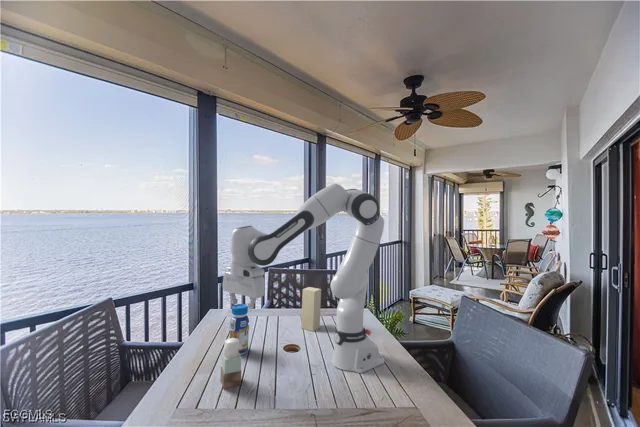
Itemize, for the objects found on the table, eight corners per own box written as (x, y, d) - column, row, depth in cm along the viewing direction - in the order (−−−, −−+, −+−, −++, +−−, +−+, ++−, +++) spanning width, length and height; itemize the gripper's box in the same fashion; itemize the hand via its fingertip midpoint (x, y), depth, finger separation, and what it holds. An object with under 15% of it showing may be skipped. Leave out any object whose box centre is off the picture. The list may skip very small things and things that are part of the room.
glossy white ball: (238, 351, 111) (238, 337, 111) (239, 357, 106) (239, 343, 106) (224, 352, 109) (224, 338, 109) (224, 358, 105) (224, 344, 105)
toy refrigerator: (320, 327, 162) (322, 288, 162) (313, 331, 156) (314, 291, 156) (308, 324, 167) (309, 286, 167) (300, 328, 160) (302, 289, 160)
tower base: (237, 376, 112) (237, 363, 112) (240, 385, 107) (241, 371, 107) (220, 380, 109) (220, 366, 109) (223, 389, 104) (223, 374, 104)
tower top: (237, 363, 112) (237, 350, 112) (240, 370, 107) (241, 356, 107) (222, 366, 109) (222, 353, 109) (224, 374, 104) (225, 359, 104)
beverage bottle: (229, 348, 135) (230, 303, 135) (248, 346, 137) (249, 302, 137) (228, 356, 127) (229, 309, 127) (248, 355, 129) (250, 308, 129)
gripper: (218, 267, 117) (218, 303, 117) (254, 273, 105) (254, 313, 104) (232, 265, 122) (231, 299, 122) (267, 270, 110) (267, 308, 110)
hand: (242, 306), depth 113 cm, fingers open, 8 cm apart
